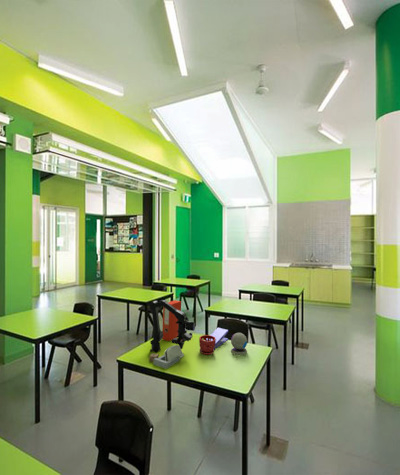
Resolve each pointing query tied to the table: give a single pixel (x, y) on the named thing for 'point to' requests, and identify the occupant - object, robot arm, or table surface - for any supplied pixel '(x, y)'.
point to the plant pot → (207, 344)
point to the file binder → (170, 322)
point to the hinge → (173, 352)
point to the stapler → (219, 336)
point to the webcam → (239, 344)
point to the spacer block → (153, 357)
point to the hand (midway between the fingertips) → (181, 349)
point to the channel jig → (164, 364)
